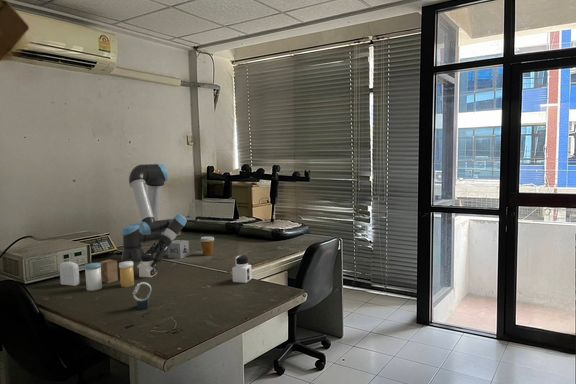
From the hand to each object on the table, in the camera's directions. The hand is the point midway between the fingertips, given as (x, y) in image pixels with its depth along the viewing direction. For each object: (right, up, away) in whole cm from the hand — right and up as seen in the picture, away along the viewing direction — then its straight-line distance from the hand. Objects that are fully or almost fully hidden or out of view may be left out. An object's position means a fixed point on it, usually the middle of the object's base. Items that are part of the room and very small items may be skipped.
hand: (142, 269), depth 235 cm
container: (+57, -3, -13) cm, 59 cm away
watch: (+17, -7, -50) cm, 53 cm away
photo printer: (-35, -6, -10) cm, 37 cm away
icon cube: (+7, 0, +50) cm, 51 cm away
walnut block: (-16, -5, -6) cm, 18 cm away
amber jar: (-3, -5, -15) cm, 16 cm away
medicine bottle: (+2, -4, +2) cm, 5 cm away
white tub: (-18, -6, -19) cm, 27 cm away
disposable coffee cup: (+27, +1, +52) cm, 58 cm away
